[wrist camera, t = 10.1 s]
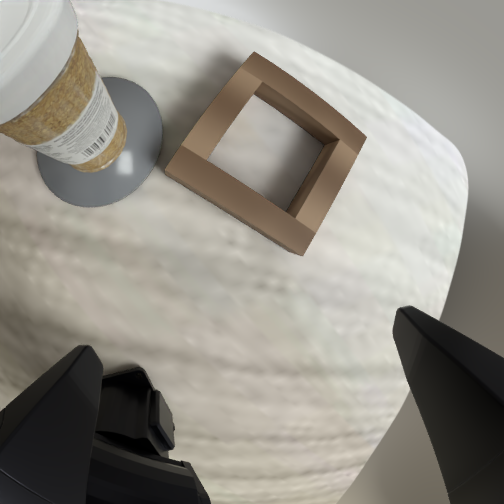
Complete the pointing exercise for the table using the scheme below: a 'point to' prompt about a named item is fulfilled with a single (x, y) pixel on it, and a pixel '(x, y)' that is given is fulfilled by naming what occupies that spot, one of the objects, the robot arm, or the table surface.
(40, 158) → the coaster
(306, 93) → the square wooden frame
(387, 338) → the table surface
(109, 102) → the sprinkles bottle
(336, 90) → the table surface
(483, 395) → the robot arm
